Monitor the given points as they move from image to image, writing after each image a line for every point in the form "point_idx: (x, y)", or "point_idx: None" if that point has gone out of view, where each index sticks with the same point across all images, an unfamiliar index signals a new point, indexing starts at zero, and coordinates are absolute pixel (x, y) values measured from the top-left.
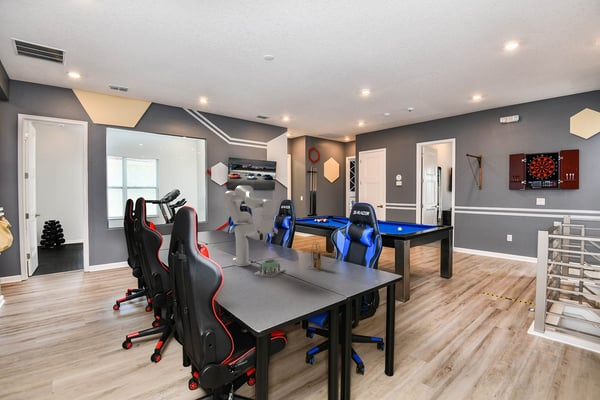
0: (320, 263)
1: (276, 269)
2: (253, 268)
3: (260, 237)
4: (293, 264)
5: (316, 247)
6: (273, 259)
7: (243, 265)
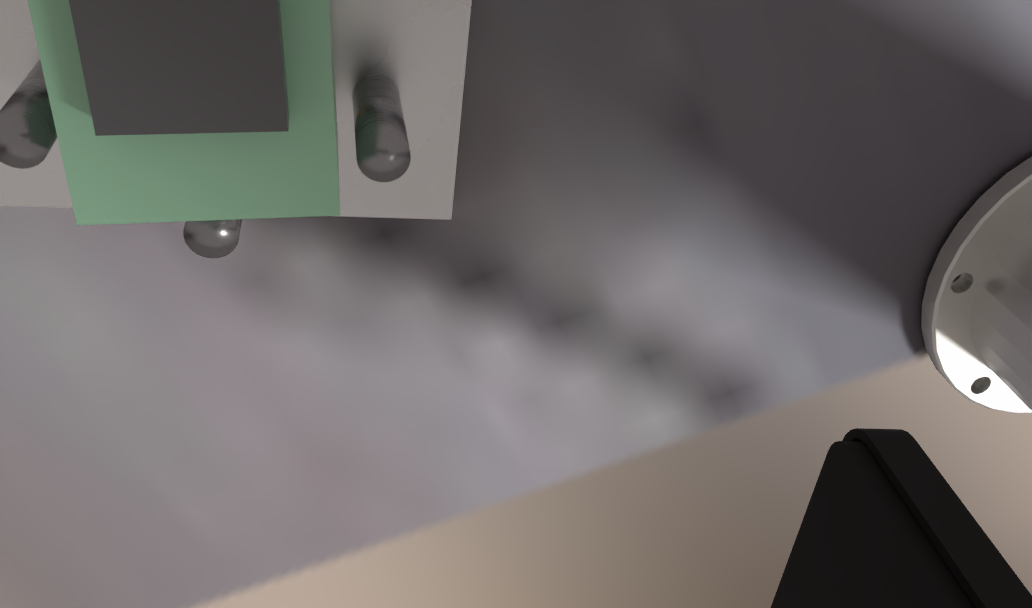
0: None
1: None
2: (759, 88)
3: (947, 572)
4: (121, 593)
5: None
6: (119, 100)
7: (1026, 167)
